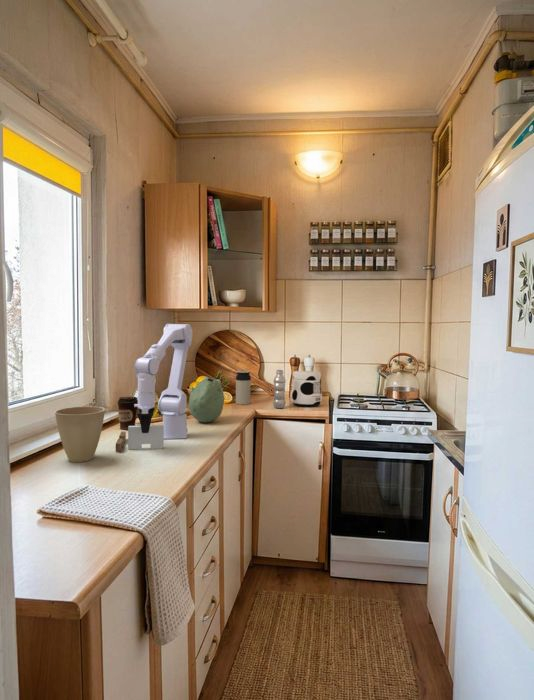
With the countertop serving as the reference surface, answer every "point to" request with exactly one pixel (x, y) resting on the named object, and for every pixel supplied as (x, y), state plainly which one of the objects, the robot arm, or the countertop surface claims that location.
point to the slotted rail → (120, 441)
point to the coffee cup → (127, 411)
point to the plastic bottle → (279, 390)
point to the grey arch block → (146, 437)
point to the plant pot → (80, 431)
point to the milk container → (306, 388)
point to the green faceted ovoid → (206, 400)
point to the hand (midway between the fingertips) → (146, 430)
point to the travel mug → (243, 387)
